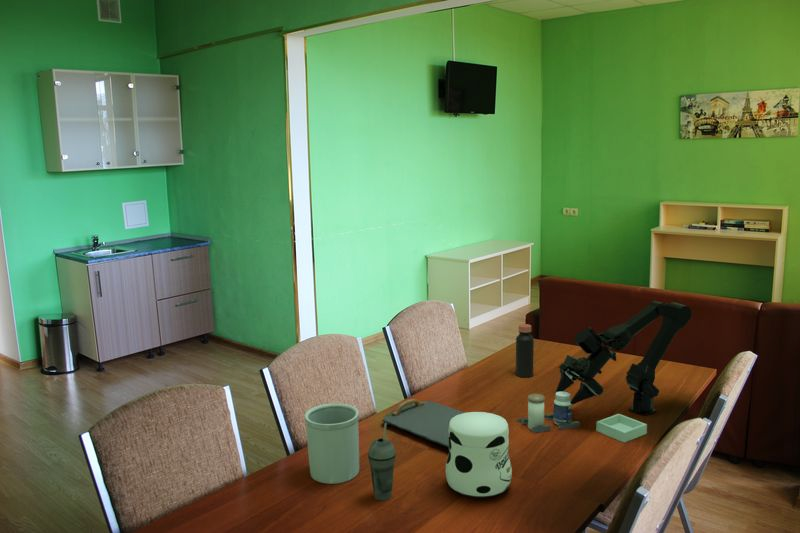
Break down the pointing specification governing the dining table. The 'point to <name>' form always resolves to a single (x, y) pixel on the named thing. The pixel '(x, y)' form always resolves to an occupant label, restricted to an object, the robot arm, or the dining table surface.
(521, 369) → the black water bottle
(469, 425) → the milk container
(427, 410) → the serving board
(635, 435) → the tray
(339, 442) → the utensil holder
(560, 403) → the pill bottle
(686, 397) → the dining table surface
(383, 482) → the beverage cup
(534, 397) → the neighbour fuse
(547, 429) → the set of grey bars
